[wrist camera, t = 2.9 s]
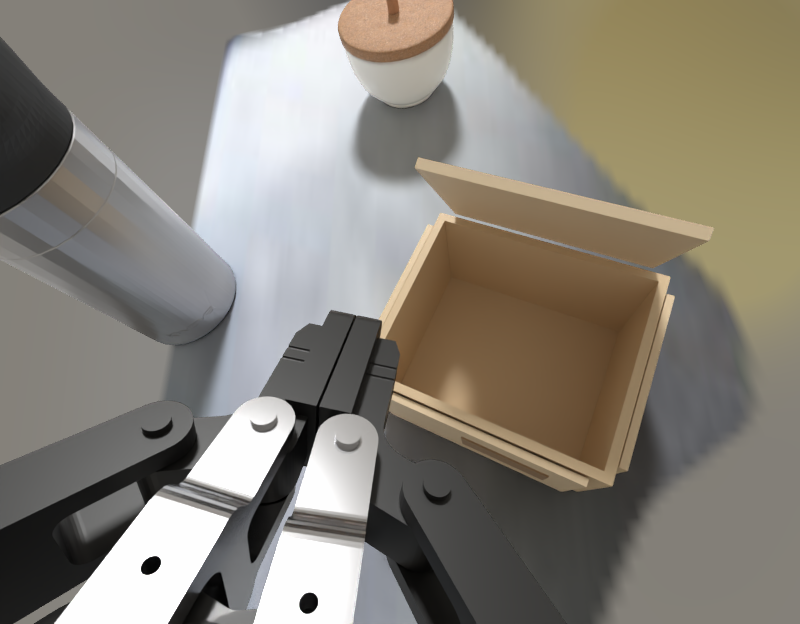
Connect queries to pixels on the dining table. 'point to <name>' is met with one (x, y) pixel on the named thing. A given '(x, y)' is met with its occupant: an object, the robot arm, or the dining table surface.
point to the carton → (526, 351)
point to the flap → (563, 215)
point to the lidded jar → (398, 47)
